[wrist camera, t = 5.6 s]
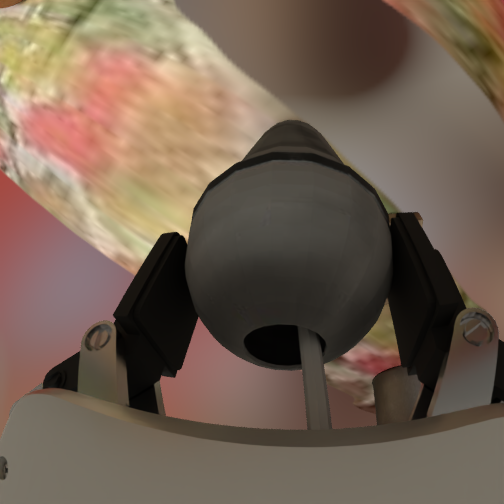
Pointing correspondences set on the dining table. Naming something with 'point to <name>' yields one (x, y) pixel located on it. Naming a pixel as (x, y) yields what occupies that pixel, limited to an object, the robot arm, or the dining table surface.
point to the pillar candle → (395, 395)
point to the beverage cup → (290, 258)
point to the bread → (8, 3)
